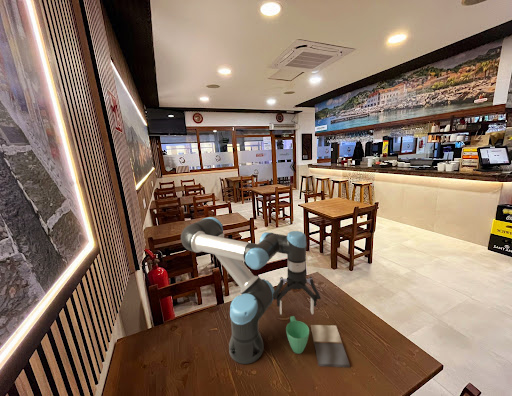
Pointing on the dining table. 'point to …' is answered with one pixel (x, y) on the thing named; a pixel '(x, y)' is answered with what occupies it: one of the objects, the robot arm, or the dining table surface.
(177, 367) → the dining table surface
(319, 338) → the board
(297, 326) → the mug
